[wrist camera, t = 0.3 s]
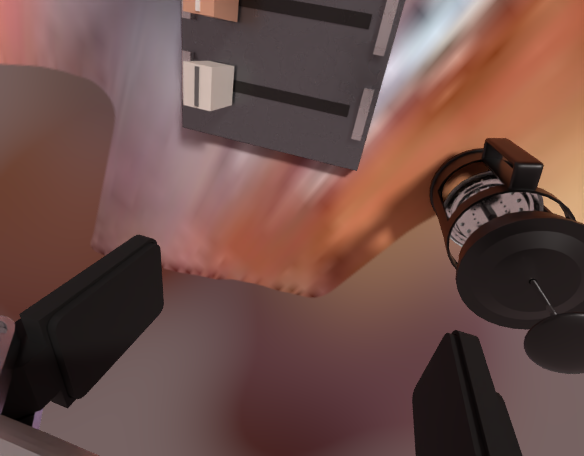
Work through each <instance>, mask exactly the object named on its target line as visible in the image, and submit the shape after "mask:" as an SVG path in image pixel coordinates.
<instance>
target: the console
mask: <svg viewBox="0 0 584 456" xmlns="http://www.w3.org/2000/svg"><path fill="white" fill-rule="evenodd" d="M404 3H405V0H239V4H238V19H237V22H233V21H228V20H222V19H217V18H212V17H207V16H203V15H198V14H194V13H190V12H185V11H183V0H182V118H183V127H184V128H188V129H192V130H196V131H200V132H204V133H208V134H212V135H216V136H220V137H224V138H228V139H232V140H236V141H240V142H244V143H248V144H252V145H256V146H260V147H264V148H268V149H272V150H276V151H280V152H284V153H288V154H292V155H296V156H300V157H304V158H308V159H312V160H316V161H320V162H324V163H328V164H332V165H336V166H340V167H344V168H348V169H352V170H356V171H357V169H358V166H359V162H360V159H361V155H362V152H363V148H364V145H365V141H366V137H367V134H368V130H369V127H370V123H371V120H372V116H373V113H374V109H375V106H376V102H377V99H378V95H379V92H380V88H381V85H382V81H383V77H384V74H385V70H386V67H387V63H388V60H389V56H390V53H391V49H392V46H393V42H394V39H395V35H396V32H397V28H398V24H399V21H400V17H401V14H402V10H403V7H404ZM183 61H213V62H217V63H222V64H227V65H231V66H234V79H233V94H232V105H230V106H227V107H224V108H220V109H217V110H213V111H207V110H203V109H199V108H194V107H190V106H186V105H183Z"/></svg>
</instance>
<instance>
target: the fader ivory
mask: <svg viewBox="0 0 584 456" xmlns="http://www.w3.org/2000/svg"><path fill="white" fill-rule="evenodd" d="M233 79H234V66H231V65H227V64H222V63H217V62H213V61H183V105H186V106H190V107H194V108H199V109H203V110H207V111H213V110H217V109H220V108H224V107H227V106H230V105H232V94H233Z"/></svg>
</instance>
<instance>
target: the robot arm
mask: <svg viewBox="0 0 584 456" xmlns="http://www.w3.org/2000/svg"><path fill="white" fill-rule="evenodd" d="M163 301H164V300H163V284H162V268H161V252H160V246H159V245H157V242H156V240H154V239H152V238H149V237H145V236H142V235H136V236H134V237H132V238H131V239H129V240H128V241H126V242H125V243H124V244H122V245H121V246H119V247H118V248H116V249H115V250H113V251H112V252H110V253H109V254H107V255H106V256H104V257H103V258H101V259H100V260H98V261H97V262H96V263H94V264H93V265H91V266H90V267H88V268H87V269H85V270H84V271H82V272H81V273H79V274H78V275H76V276H75V277H73V278H72V279H71V280H69V281H68V282H66V283H65V284H63V285H62V286H60V287H59V288H57V289H56V290H54V291H53V292H51V293H50V294H48V295H47V296H45V297H44V298H42V299H41V300H40V301H38V302H37V303H35V304H34V305H32V306H31V307H29V308H28V309H26V310H25V311H23V312H22V313H20V317H21V319H19V320H18V321H16V322H15V323H14V322H13V320H12V319H10V318H8V317H6V316H0V456H99V455H97V454H94V453H92V452H90V451H87V450H85V449H83V448H80V447H78V446H76V445H73V444H71V443H69V442H66V441H64V440H62V439H59V438H57V437H55V436H53V435H50V434H48V433H46V432H43V431H41V430H39V428H40V423H41V417H42V411H43V408H44V407H45V405H47V404H48V403H49V402H50V401H52V402H54V403H56V404H59V405H61V406H63V407H66V408H68V407H69V406H70V405H71V404H72V403H73V402H74V401H75V400H76V399H80V398H82V397H83V396H85V395H86V394H87V392H89V390H90V389H91V388H92V387H93V386H94V385H95V384H96V383H97V382H98V381H99V380H100V379H101V377H102V376H103V375H104V374H105V373H106V372H107V371H108V370H109V369H110V368H111V367H112V365H113V364H114V363H115V362H116V361H117V360H118V359H119V358H120V357H121V356H122V355H123V353H124V352H125V351H126V350H127V349H128V348H129V347H130V346H131V345H132V344H133V343H134V341H135V340H136V339H137V338H138V337H139V336H140V335H141V334H142V333H143V332H144V330H145V329H146V328H147V327H148V326H149V325H150V324H151V323H152V322H153V321H154V320H155V318H156V317H157V316H158V315H159V314H160V313H161V311H162V309H163V305H164V302H163ZM412 403H413V419H414V435H415V450H416V456H522V453H521V450H520V447H519V444H518V441H517V438H516V435H515V432H514V429H513V426H512V423H511V420H510V417H509V414H508V411H507V408H506V405H505V402H504V400H503V398H502V397H501V395H500V394H499V393H497V392H496V391H495V388H494V385H493V382H492V379H491V376H490V373H489V369H488V366H487V364H486V360H485V357H484V354H483V350H482V347H481V344H480V341H479V339H478V337H476V336H474V335H471V334H467V333H464V332H461V331H457V330H455V331H453V332H452V334H450V333H446V334H445V335H444V337H443V338H442V340H441V342H440V344H439V346H438V347H437V349H436V351H435V353H434V355H433V357H432V358H431V360H430V362H429V364H428V365H427V367H426V369H425V371H424V372H423V374H422V376H421V378H420V380H419V381H418V383H417V385H416V387H415V389H414V392H413V399H412Z"/></svg>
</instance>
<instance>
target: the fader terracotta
mask: <svg viewBox="0 0 584 456" xmlns="http://www.w3.org/2000/svg"><path fill="white" fill-rule="evenodd" d="M238 4H239V0H183V11H185V12H190V13H194V14H198V15H203V16H207V17H212V18H217V19H222V20H228V21H233V22H237V19H238Z"/></svg>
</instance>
